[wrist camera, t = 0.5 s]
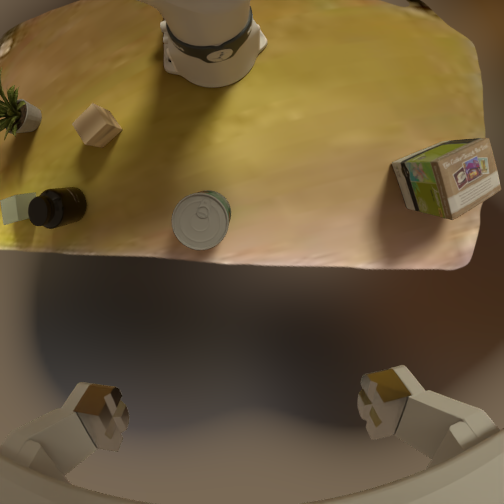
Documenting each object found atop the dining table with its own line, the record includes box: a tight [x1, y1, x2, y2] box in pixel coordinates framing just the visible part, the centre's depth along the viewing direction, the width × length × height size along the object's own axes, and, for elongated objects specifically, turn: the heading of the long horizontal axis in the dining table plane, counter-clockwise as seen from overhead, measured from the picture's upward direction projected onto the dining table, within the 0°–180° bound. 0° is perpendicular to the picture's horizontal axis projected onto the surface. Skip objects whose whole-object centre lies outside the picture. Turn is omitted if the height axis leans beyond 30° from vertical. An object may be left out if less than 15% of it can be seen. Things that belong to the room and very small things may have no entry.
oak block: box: [72, 103, 122, 148], centre depth 42 cm, size 5×5×7 cm
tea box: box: [392, 138, 501, 220], centre depth 42 cm, size 15×10×15 cm, turn 115°
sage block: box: [0, 192, 36, 225], centre depth 44 cm, size 5×5×7 cm
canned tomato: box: [172, 190, 231, 250], centre depth 45 cm, size 8×8×11 cm
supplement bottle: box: [28, 187, 87, 229], centre depth 42 cm, size 7×7×12 cm
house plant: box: [0, 68, 41, 140], centre depth 35 cm, size 14×14×16 cm
